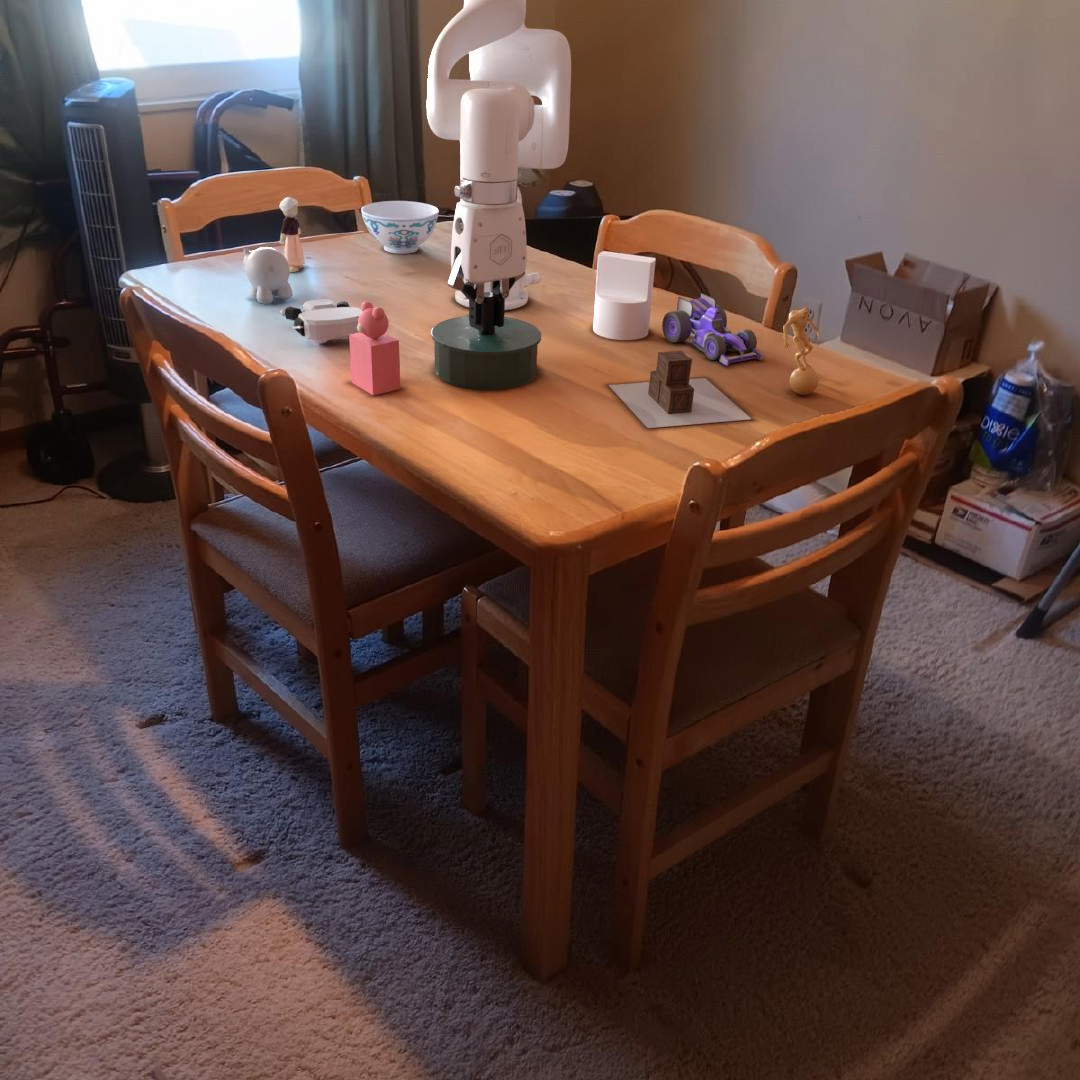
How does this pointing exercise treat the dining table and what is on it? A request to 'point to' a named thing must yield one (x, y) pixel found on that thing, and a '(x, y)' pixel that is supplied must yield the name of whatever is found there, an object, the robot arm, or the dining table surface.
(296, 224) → the grandmother figurine
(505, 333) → the pot lid
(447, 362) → the pot
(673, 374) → the stack of crates
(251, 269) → the toy rhinoceros
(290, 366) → the dining table surface
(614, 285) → the cylinder with rectangular tab
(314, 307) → the robot toy
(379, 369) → the pink bear head stamp
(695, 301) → the toy race car
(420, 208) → the chinaware
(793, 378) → the figurine
